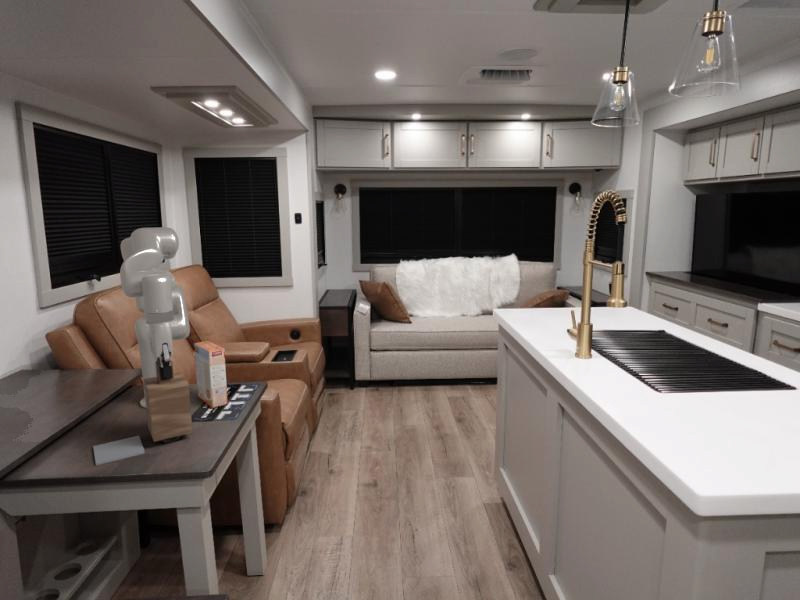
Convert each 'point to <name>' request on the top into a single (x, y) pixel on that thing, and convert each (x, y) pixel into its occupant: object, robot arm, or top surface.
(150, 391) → the walnut cover
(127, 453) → the slate mat
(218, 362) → the cracker box
